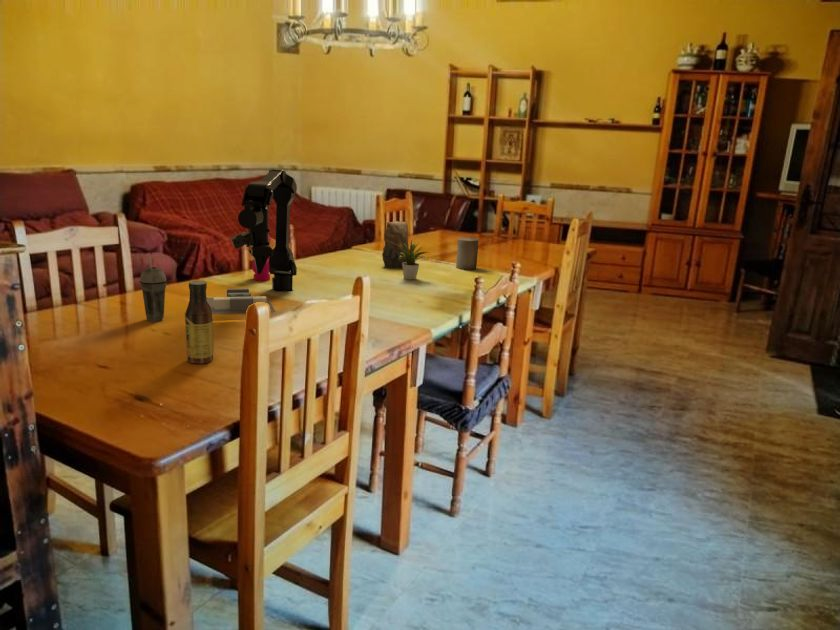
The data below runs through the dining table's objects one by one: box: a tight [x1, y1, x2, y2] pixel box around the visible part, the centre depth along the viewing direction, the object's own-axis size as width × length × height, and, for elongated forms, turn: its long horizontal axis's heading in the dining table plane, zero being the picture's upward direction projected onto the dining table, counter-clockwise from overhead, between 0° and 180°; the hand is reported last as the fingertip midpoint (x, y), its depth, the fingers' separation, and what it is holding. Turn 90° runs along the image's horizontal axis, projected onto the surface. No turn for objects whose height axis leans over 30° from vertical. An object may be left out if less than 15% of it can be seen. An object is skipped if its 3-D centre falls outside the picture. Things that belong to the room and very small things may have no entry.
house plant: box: [395, 239, 430, 280], centre depth 259 cm, size 14×14×16 cm
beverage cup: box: [139, 252, 168, 323], centre depth 181 cm, size 7×7×20 cm
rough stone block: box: [381, 220, 410, 270], centre depth 285 cm, size 13×13×20 cm
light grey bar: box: [213, 295, 267, 309], centre depth 200 cm, size 16×3×3 cm, turn 111°
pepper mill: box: [251, 233, 271, 282], centre depth 241 cm, size 7×7×20 cm
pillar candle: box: [455, 236, 480, 271], centre depth 291 cm, size 10×10×15 cm
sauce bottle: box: [184, 279, 214, 365], centre depth 151 cm, size 7×6×20 cm
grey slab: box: [206, 288, 276, 315], centre depth 203 cm, size 20×20×4 cm
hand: (259, 273), depth 200 cm, fingers closed
